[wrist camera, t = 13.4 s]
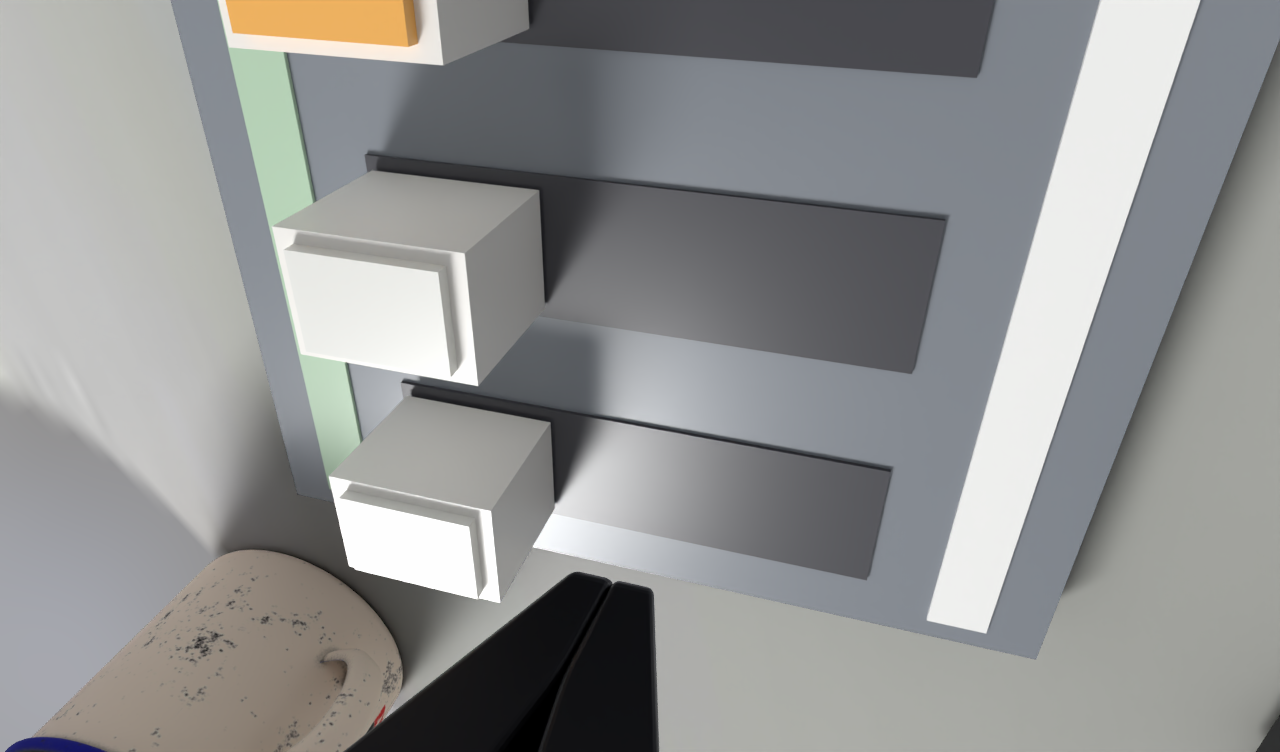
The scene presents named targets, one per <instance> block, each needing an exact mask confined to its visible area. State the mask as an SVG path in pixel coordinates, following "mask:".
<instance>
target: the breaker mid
mask: <svg viewBox="0 0 1280 752" xmlns="http://www.w3.org/2000/svg"><path fill="white" fill-rule="evenodd" d="M272 230H273V234H274V239H275V243H276V247H277V252H278V256H279V261H280V265H281V269H282V274H283V278H284V282H285V287H286V291H287V296H288V300H289V304H290V309H291V313H292V318H293V322H294V326H295V331H296V335H297V340H298V344H299V348H300V353H301V354H302V355H308V356H313V357H319V358H324V359H330V360H336V361H341V362H347V363H352V364H358V365H364V366H369V367H375V368H380V369H386V370H391V371H397V372H403V373H408V374H414V375H419V376H425V377H431V378H436V379H442V380H447V381H453V382H458V383H464V384H470V385H475V386H479V384H480V383H481V382H482V381H483V380H484V379H485V377H486V376H487V375H488V374H489V373H490V372H491V370H492V369H493V368H494V367H495V366H496V365H497V363H498V362H499V361H500V360H501V359H502V358H503V356H504V355H505V354H506V353H507V352H508V351H509V349H510V348H511V347H512V346H513V345H514V344H515V342H516V341H517V340H518V339H519V338H520V337H521V335H522V334H523V333H524V332H525V331H526V330H527V328H528V327H529V326H530V325H531V324H532V323H533V321H534V320H535V319H536V318H537V317H538V316H539V314H540V313H541V312H542V311H543V310H544V309H545V299H544V278H543V258H542V238H541V217H540V197H539V190H534V189H525V188H517V187H508V186H500V185H491V184H483V183H474V182H466V181H458V180H449V179H441V178H432V177H424V176H415V175H407V174H398V173H390V172H381V171H373V170H372V171H370V172H368V173H366V174H365V175H363V176H361V177H359V178H358V179H356V180H354V181H352V182H350V183H349V184H347V185H345V186H343V187H341V188H340V189H338V190H336V191H334V192H332V193H331V194H329V195H327V196H325V197H323V198H322V199H320V200H318V201H316V202H314V203H313V204H311V205H309V206H307V207H306V208H304V209H302V210H300V211H298V212H297V213H295V214H293V215H291V216H289V217H288V218H286V219H284V220H282V221H280V222H279V223H277V224H275V225H273V226H272Z"/></svg>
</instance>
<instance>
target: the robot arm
mask: <svg viewBox="0 0 1280 752" xmlns="http://www.w3.org/2000/svg"><path fill="white" fill-rule="evenodd" d="M343 752H659V731H658V702H657V673H656V644H655V614H654V594H653V591H652V590H651V589H650V588H648V587H644V586H639V585H635V584H631V583H626V582H622V581H617V582H615V583H614V584H612V582H611V581H610V580H609V579H607V578H604V577H600V576H595V575H591V574H587V573H582V572H574V573H571V574H569V575H568V576H566V577H565V578H564V579H562V580H561V581H560V582H559V583H557V584H556V585H555V586H554V587H552V588H551V589H550V590H548V591H547V592H546V593H545V594H543V595H542V596H541V597H540V598H538V599H537V600H536V601H534V602H533V603H532V604H531V605H529V606H528V607H527V608H526V609H524V610H523V611H522V612H520V613H519V614H518V615H517V616H515V617H514V618H513V619H512V620H510V621H509V622H508V623H506V624H505V625H504V626H503V627H501V628H500V629H499V630H497V631H496V632H495V633H494V634H492V635H491V636H490V637H489V638H487V639H486V640H485V641H483V642H482V643H481V644H480V645H478V646H477V647H476V648H475V649H473V650H472V651H471V652H469V653H468V654H467V655H466V656H464V657H463V658H462V659H461V660H459V661H458V662H457V663H455V664H454V665H453V666H452V667H450V668H449V669H448V670H447V671H445V672H444V673H443V674H441V675H440V676H439V677H438V678H436V679H435V680H434V681H433V682H431V683H430V684H429V685H427V686H426V687H425V688H424V689H422V690H421V691H420V692H419V693H417V694H416V695H415V696H413V697H412V698H411V699H410V700H408V701H407V702H406V703H404V704H403V705H402V706H401V707H399V708H398V709H397V710H396V711H394V712H393V713H392V714H390V715H389V716H388V717H387V718H385V719H384V720H383V721H382V722H380V723H379V724H378V725H376V726H375V727H374V728H373V729H371V730H370V731H369V732H368V733H366V734H365V735H364V736H362V737H361V738H360V739H359V740H357V741H356V742H355V743H354V744H352V745H351V746H350V747H348V748H347V749H346V750H345V751H343ZM1256 752H1280V716H1279V717H1278V719H1277V720H1276V722H1275V723H1274V725H1273V727H1272V728H1271V730H1270V731H1269V733H1268V734H1267V736H1266V737H1265V739H1264V740H1263V742H1262V743H1261V745H1260V746H1259V748H1258V749H1257V751H1256Z"/></svg>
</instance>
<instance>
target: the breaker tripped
mask: <svg viewBox="0 0 1280 752" xmlns="http://www.w3.org/2000/svg"><path fill="white" fill-rule="evenodd" d="M218 2H219V6H220V11H221V15H222V19H223V24H224V28H225V32H226V37H227V41H228V46H229V48H241V49H253V50H265V51H277V52H289V53H301V54H313V55H325V56H337V57H349V58H361V59H373V60H385V61H397V62H409V63H420V64H432V65H445V64H448V63H450V62H452V61H455V60H457V59H460V58H462V57H464V56H467V55H469V54H471V53H474V52H476V51H478V50H481V49H483V48H486V47H488V46H490V45H493V44H495V43H497V42H500V41H502V40H504V39H507V38H509V37H512V36H514V35H516V34H519V33H521V32H523V31H526V30H528V29H529V13H528V0H218Z"/></svg>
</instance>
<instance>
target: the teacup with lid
mask: <svg viewBox="0 0 1280 752" xmlns="http://www.w3.org/2000/svg"><path fill="white" fill-rule="evenodd" d="M402 679H403V669H402V662H401V657H400V654H399V651H398V648H397V645H396V643H395V641H394V639H393V637H392V635H391V634H390V632H389V630H388V629H387V627H386V626H385V624H384V623H383V621H382V620H381V619H380V617H379V616H378V615H377V614H376V612H375V611H374V610H373V609H372V608H371V607H370V606H369V605H368V604H367V603H366V602H365V601H364V600H363V599H362V598H361V597H360V596H359V595H358V594H357V593H355V592H354V591H353V590H352V589H351V588H349V587H348V586H347V585H345V584H344V583H343V582H341V581H340V580H338V579H337V578H335V577H334V576H332V575H331V574H329V573H327V572H326V571H324V570H322V569H320V568H318V567H316V566H314V565H312V564H310V563H308V562H305V561H303V560H301V559H298V558H295V557H292V556H289V555H286V554H282V553H278V552H273V551H267V550H240V551H235V552H231V553H228V554H225V555H223V556H221V557H218V558H217V559H215V560H214V561H212V562H211V563H210V564H208V565H207V566H206V567H205V568H204V569H203V570H202V571H201V572H200V573H199V574H198V575H197V576H196V577H195V578H194V579H193V580H192V581H191V582H190V583H189V584H188V585H187V586H186V587H185V588H184V589H183V590H182V591H181V592H180V593H179V594H178V595H177V596H176V597H175V598H174V599H173V600H172V601H171V602H170V603H169V604H168V605H167V606H166V607H164V608H163V609H162V610H161V611H160V612H159V613H158V614H157V615H156V616H155V617H154V618H153V619H152V620H151V621H150V622H149V623H148V624H147V625H146V626H145V627H144V628H143V629H142V630H141V631H140V632H139V633H138V634H137V635H136V636H135V637H134V638H133V639H132V640H131V641H130V642H129V643H128V644H127V645H126V646H125V647H124V648H123V649H122V650H121V651H119V652H118V653H117V655H115V656H114V657H113V659H111V660H110V662H108V663H107V664H106V665H105V666H104V667H103V668H102V669H101V670H100V671H99V672H98V673H97V674H96V675H95V676H94V677H93V678H92V679H91V680H90V681H89V682H88V683H87V684H86V685H85V686H84V687H83V688H82V689H81V690H80V691H79V692H78V693H77V694H76V695H75V696H74V697H73V698H71V699H70V701H68V703H66V704H65V705H64V706H63V707H62V708H61V709H60V710H59V711H58V712H57V713H56V714H55V715H54V716H53V717H52V718H51V719H50V720H49V721H48V722H47V723H46V724H45V725H44V726H43V727H42V728H41V729H40V730H39V731H38V732H37V733H36V734H35V735H34V736H33V737H32V738H28V739H24V740H21V741H18V742H16V743H15V744H13V745H12V746H10V747H9V748H8V749H7V750H6V751H5V752H343V751H345V750H346V749H347V748H348V747H350V746H351V745H352V744H354V743H355V742H356V741H357V740H359V739H360V738H361V737H362V736H364V735H365V734H366V733H368V732H369V731H370V730H371V729H373V728H374V727H375V726H376V725H378V724H379V723H380V722H382V721H383V720H384V718H385V717H386V715H387V713H388V712H389V710H390V709H391V707H392V706H393V704H394V702H395V701H396V699H397V697H398V695H399V693H400V690H401V686H402Z"/></svg>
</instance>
